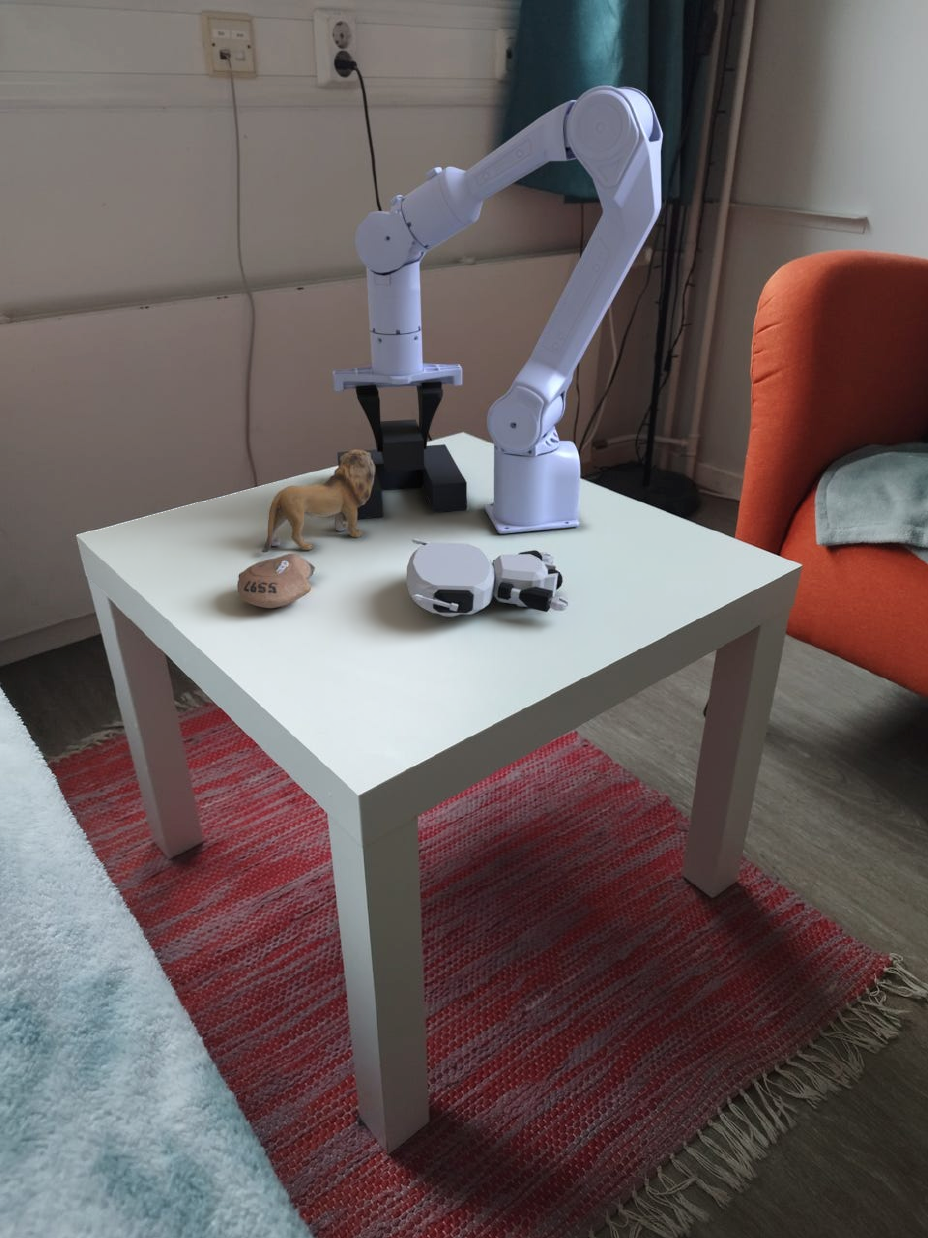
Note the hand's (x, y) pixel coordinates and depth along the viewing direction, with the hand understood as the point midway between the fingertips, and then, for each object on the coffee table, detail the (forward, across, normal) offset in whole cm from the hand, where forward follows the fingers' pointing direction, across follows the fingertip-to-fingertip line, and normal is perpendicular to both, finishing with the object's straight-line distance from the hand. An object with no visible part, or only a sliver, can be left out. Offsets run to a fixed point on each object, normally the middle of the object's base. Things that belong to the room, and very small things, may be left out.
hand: (400, 447), depth 106 cm
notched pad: (+7, 0, +3) cm, 7 cm away
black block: (+1, 0, 0) cm, 1 cm away
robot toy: (+7, +5, -27) cm, 28 cm away
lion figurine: (+7, -10, -9) cm, 15 cm away
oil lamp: (+7, -14, -22) cm, 27 cm away
